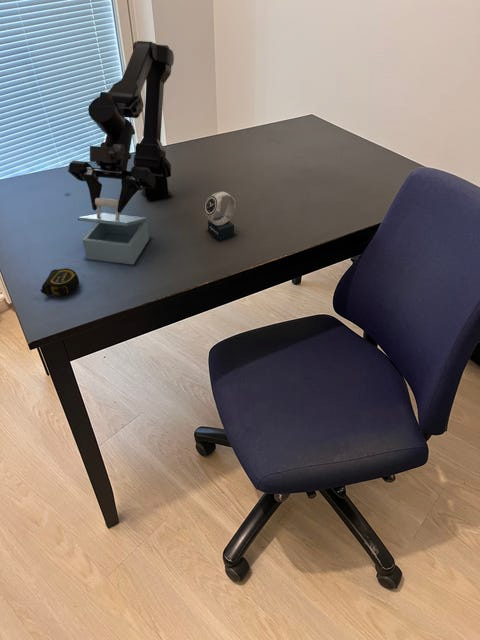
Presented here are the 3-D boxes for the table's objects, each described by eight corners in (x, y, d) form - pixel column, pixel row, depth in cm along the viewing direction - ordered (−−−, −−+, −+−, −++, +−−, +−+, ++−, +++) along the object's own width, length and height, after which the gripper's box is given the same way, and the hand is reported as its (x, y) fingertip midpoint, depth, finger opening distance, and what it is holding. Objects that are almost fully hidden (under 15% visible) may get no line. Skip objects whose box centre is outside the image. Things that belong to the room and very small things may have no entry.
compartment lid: (127, 226, 105) (127, 202, 104) (77, 220, 107) (77, 197, 105) (146, 220, 117) (147, 199, 115) (102, 215, 118) (101, 194, 117)
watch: (201, 233, 123) (200, 193, 116) (227, 224, 126) (227, 185, 119) (213, 243, 120) (212, 203, 112) (239, 233, 123) (240, 194, 116)
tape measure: (55, 279, 107) (51, 265, 105) (85, 281, 107) (81, 267, 104) (43, 298, 102) (38, 284, 99) (74, 300, 101) (70, 286, 99)
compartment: (133, 264, 112) (130, 245, 108) (86, 259, 113) (82, 239, 110) (149, 239, 120) (146, 220, 117) (105, 234, 122) (102, 215, 118)
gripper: (61, 123, 101) (49, 194, 100) (145, 130, 99) (133, 203, 98) (84, 146, 112) (73, 211, 111) (160, 153, 110) (150, 219, 109)
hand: (106, 211), depth 107 cm, fingers closed on compartment lid, 5 cm apart
